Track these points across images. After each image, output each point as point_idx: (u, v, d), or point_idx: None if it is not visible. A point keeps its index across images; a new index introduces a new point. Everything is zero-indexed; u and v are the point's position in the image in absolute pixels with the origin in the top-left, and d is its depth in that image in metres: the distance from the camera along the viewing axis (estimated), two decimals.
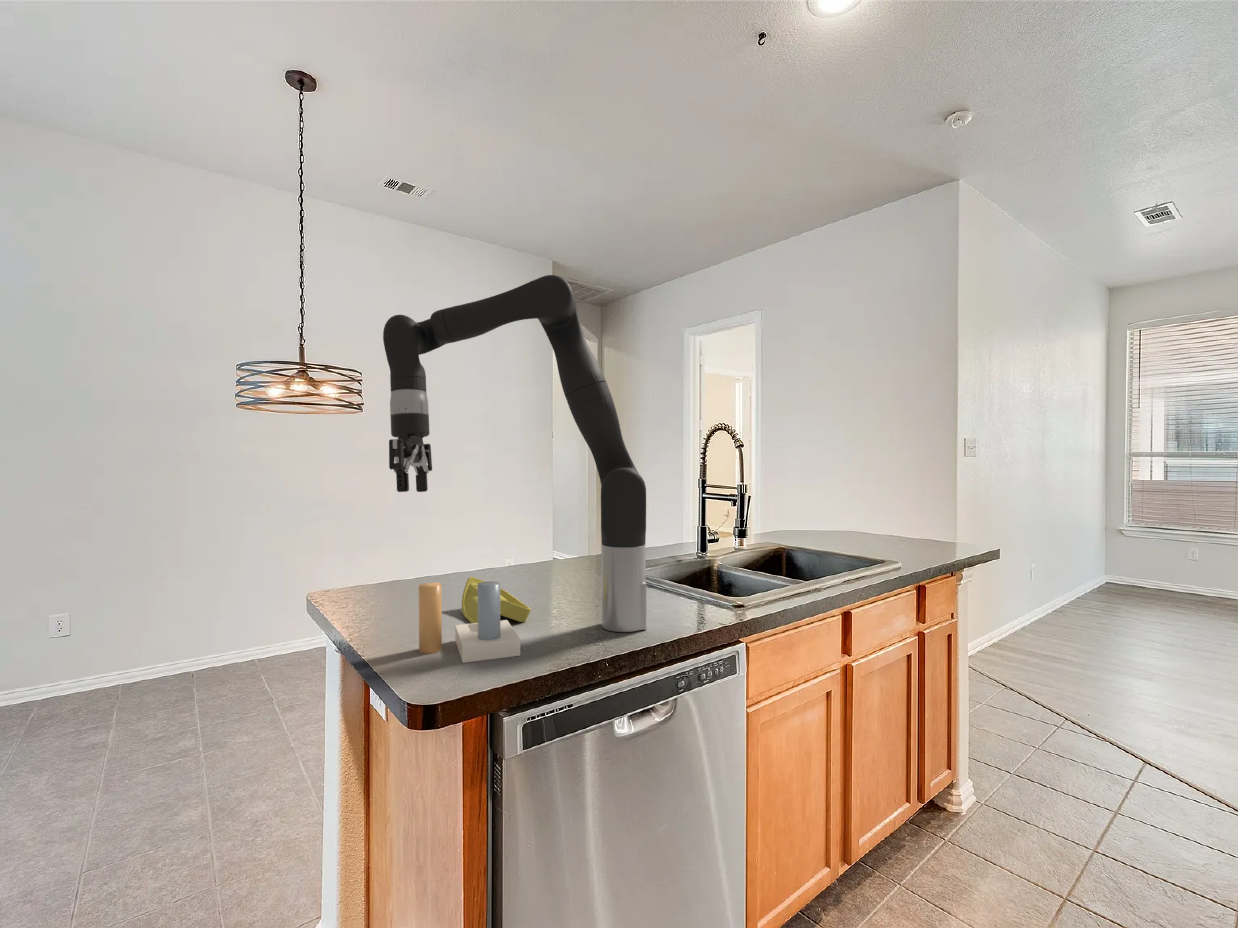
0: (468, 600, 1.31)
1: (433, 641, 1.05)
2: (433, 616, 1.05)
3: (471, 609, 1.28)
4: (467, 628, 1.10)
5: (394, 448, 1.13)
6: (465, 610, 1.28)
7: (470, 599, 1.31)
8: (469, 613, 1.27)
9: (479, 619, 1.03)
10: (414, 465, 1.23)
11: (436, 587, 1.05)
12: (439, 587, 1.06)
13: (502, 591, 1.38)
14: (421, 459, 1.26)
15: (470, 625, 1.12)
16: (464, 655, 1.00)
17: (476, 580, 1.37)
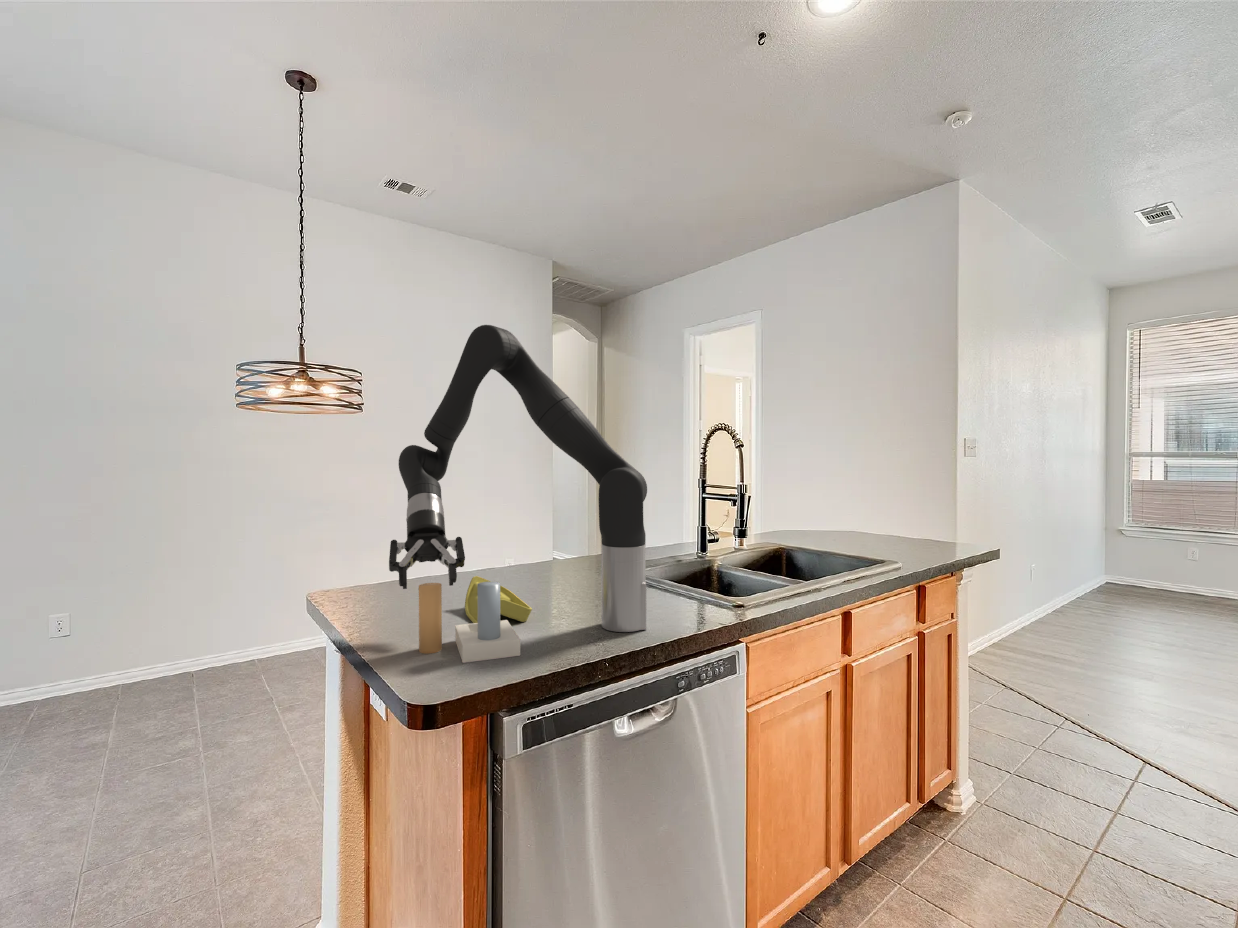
0: (471, 599, 1.32)
1: (433, 641, 1.05)
2: (433, 616, 1.05)
3: (473, 608, 1.28)
4: (467, 628, 1.10)
5: None
6: (468, 609, 1.29)
7: (473, 598, 1.31)
8: (471, 612, 1.28)
9: (479, 619, 1.03)
10: (443, 562, 1.17)
11: (436, 587, 1.05)
12: (439, 587, 1.06)
13: (506, 590, 1.38)
14: (457, 555, 1.18)
15: (470, 625, 1.12)
16: (464, 655, 1.00)
17: (480, 579, 1.38)
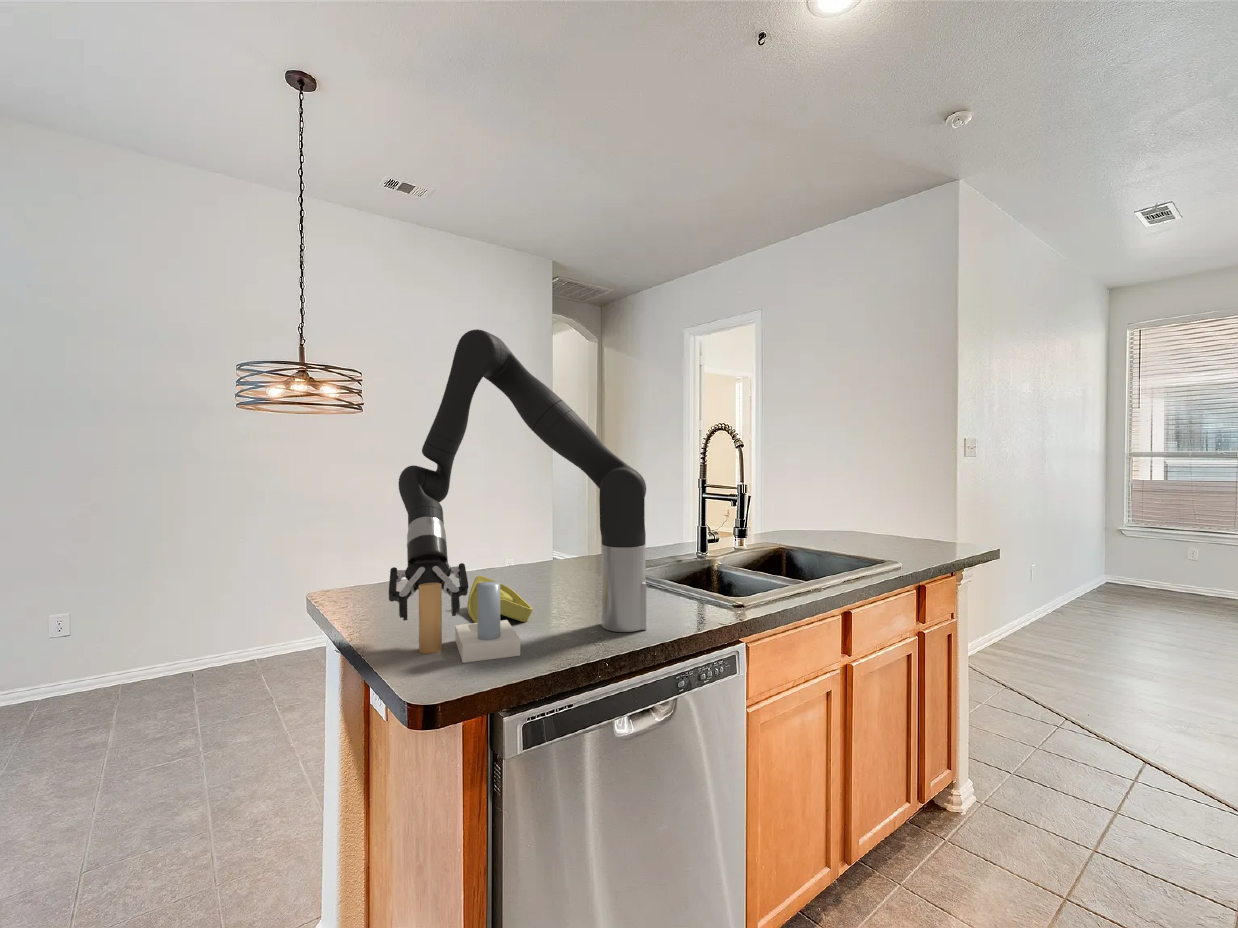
0: (474, 598, 1.32)
1: (433, 641, 1.05)
2: (433, 616, 1.05)
3: (475, 607, 1.29)
4: (467, 628, 1.10)
5: None
6: (470, 608, 1.30)
7: (476, 597, 1.32)
8: (473, 611, 1.28)
9: (479, 619, 1.03)
10: (445, 590, 1.11)
11: (436, 587, 1.05)
12: (439, 587, 1.06)
13: (509, 590, 1.39)
14: (460, 582, 1.13)
15: (470, 625, 1.12)
16: (464, 655, 1.00)
17: (484, 579, 1.39)
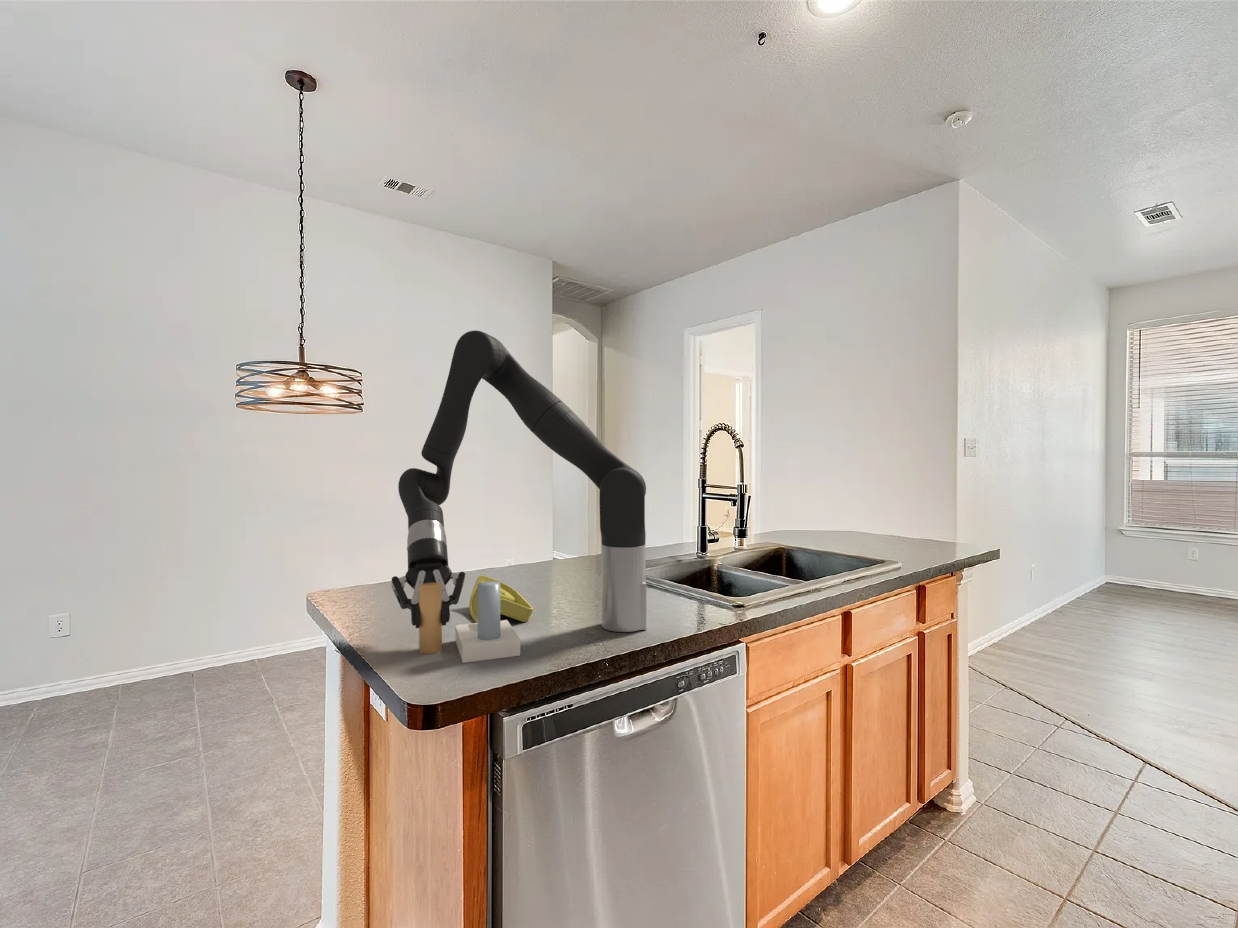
0: (476, 598, 1.33)
1: (433, 641, 1.05)
2: (433, 616, 1.05)
3: (477, 607, 1.29)
4: (467, 628, 1.10)
5: (395, 589, 1.08)
6: (472, 608, 1.30)
7: None
8: (475, 611, 1.29)
9: (479, 619, 1.03)
10: None
11: (436, 587, 1.05)
12: (439, 587, 1.06)
13: (512, 590, 1.39)
14: None
15: (470, 625, 1.12)
16: (464, 655, 1.00)
17: (486, 578, 1.39)
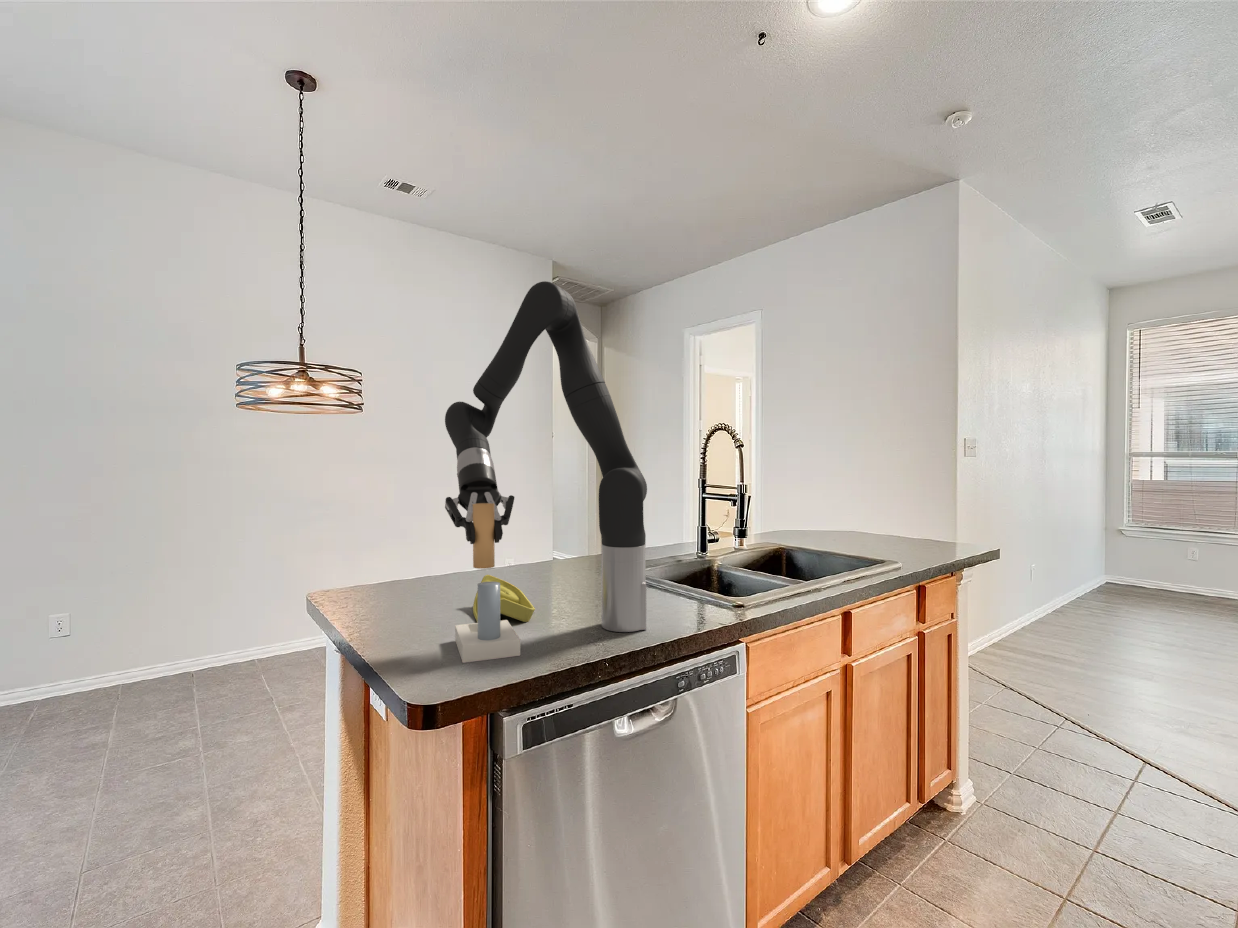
0: None
1: (487, 557, 1.09)
2: (487, 533, 1.09)
3: None
4: (467, 628, 1.10)
5: (448, 509, 1.12)
6: (475, 607, 1.31)
7: None
8: None
9: (479, 619, 1.03)
10: None
11: (490, 505, 1.09)
12: (492, 505, 1.10)
13: (517, 590, 1.39)
14: None
15: (470, 625, 1.12)
16: (464, 655, 1.00)
17: (492, 578, 1.40)
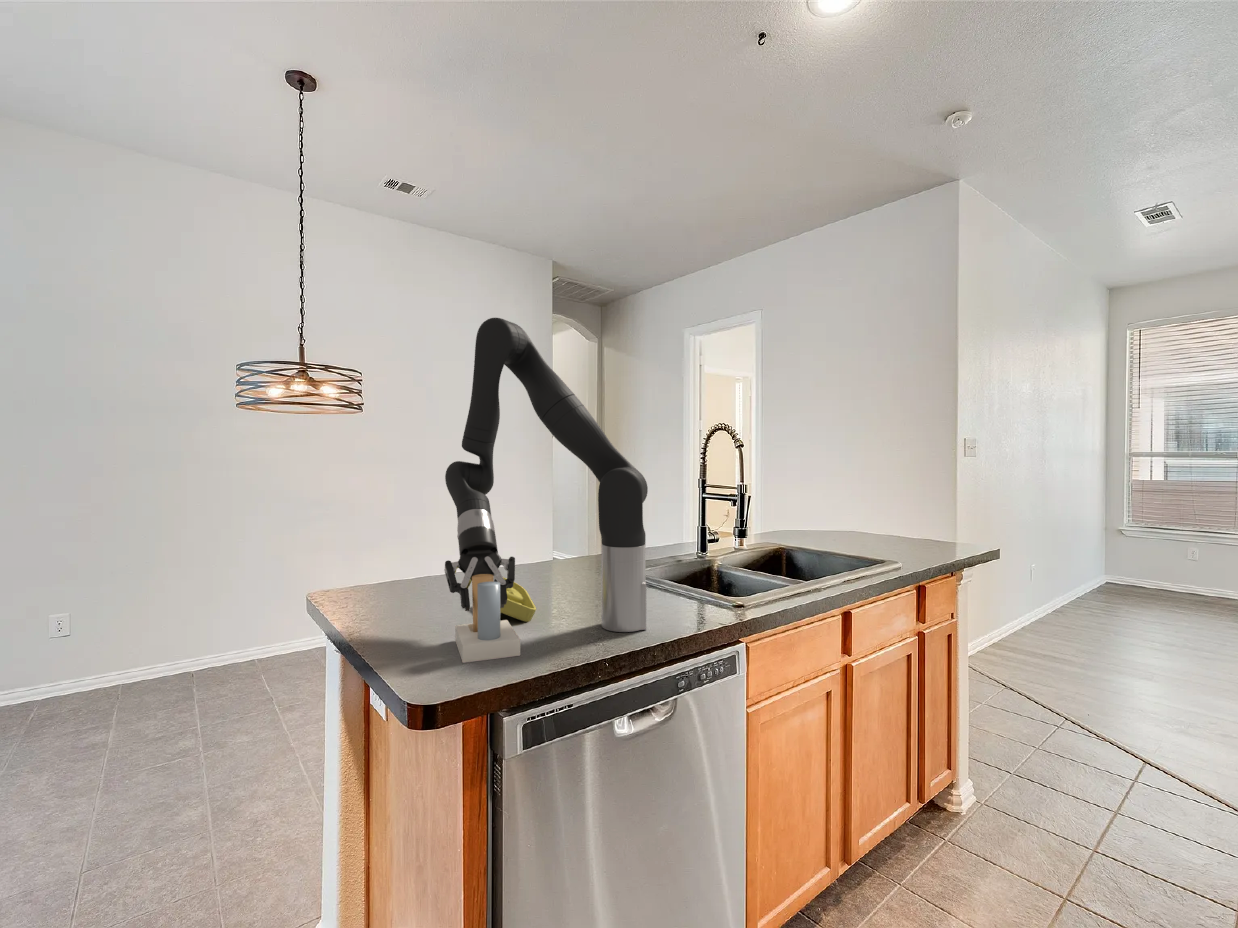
0: None
1: None
2: None
3: None
4: (467, 628, 1.10)
5: (446, 572, 1.12)
6: None
7: None
8: None
9: (479, 619, 1.03)
10: None
11: (489, 578, 1.09)
12: (491, 578, 1.10)
13: (522, 589, 1.40)
14: (507, 575, 1.16)
15: (470, 625, 1.12)
16: (464, 655, 1.00)
17: None
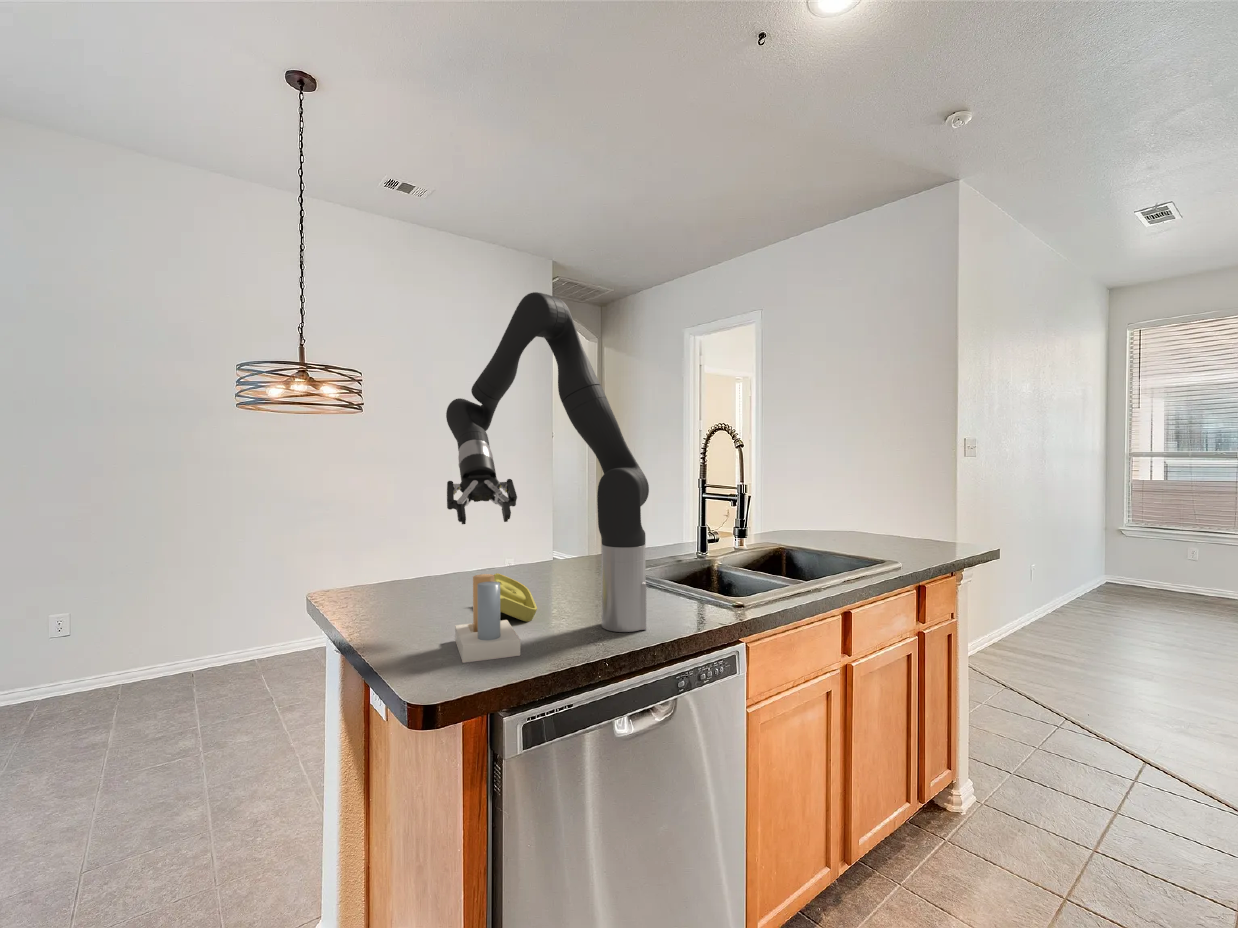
0: None
1: None
2: None
3: None
4: (467, 628, 1.10)
5: None
6: None
7: None
8: None
9: (479, 619, 1.03)
10: (496, 502, 1.24)
11: (490, 578, 1.10)
12: (493, 578, 1.10)
13: (525, 589, 1.40)
14: (508, 495, 1.25)
15: (470, 625, 1.12)
16: (464, 655, 1.00)
17: (501, 577, 1.41)
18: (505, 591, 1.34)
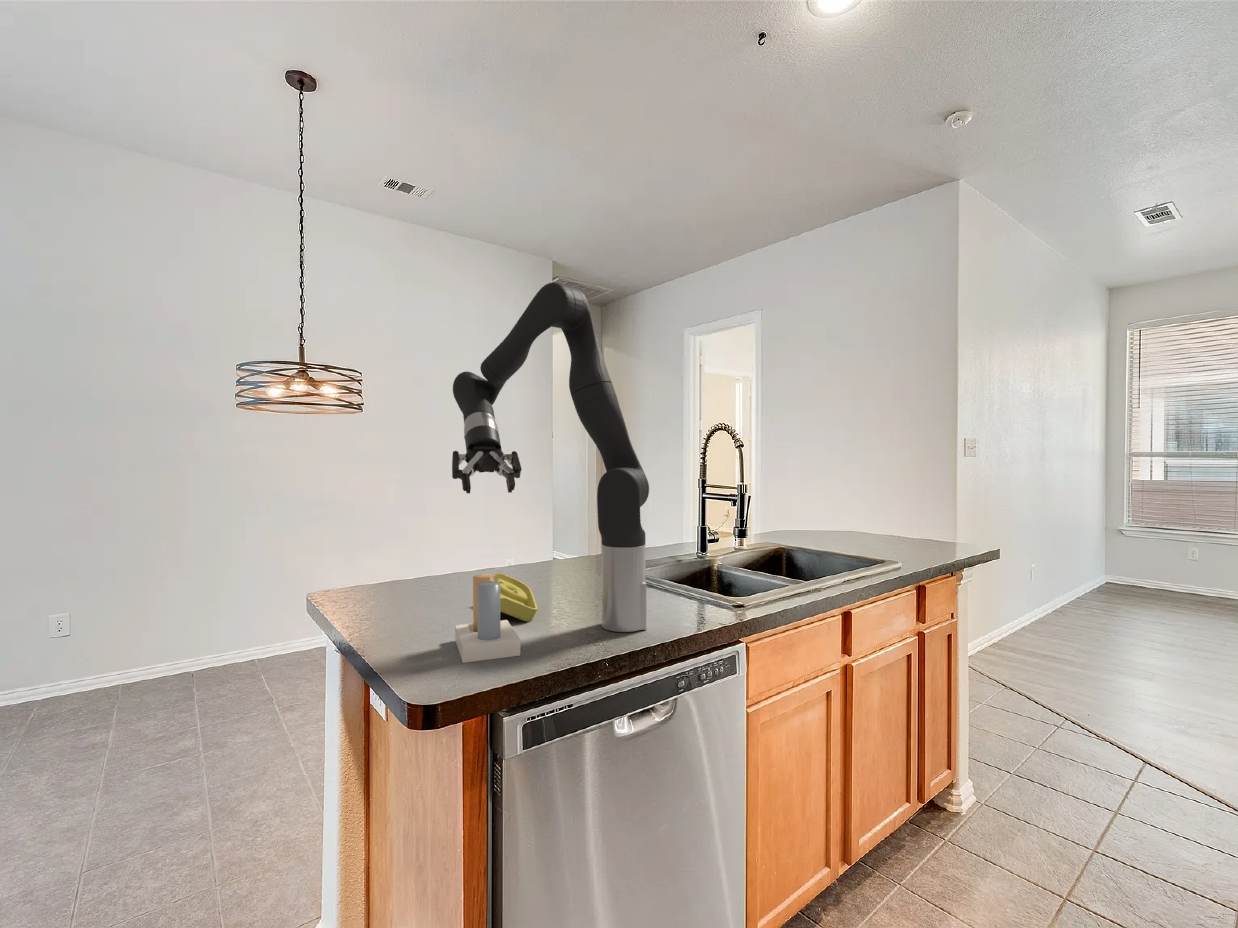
0: None
1: None
2: None
3: None
4: (467, 628, 1.10)
5: (453, 461, 1.22)
6: None
7: None
8: None
9: (479, 619, 1.03)
10: (501, 473, 1.25)
11: (490, 578, 1.10)
12: (492, 578, 1.10)
13: (527, 589, 1.40)
14: (513, 467, 1.26)
15: (470, 625, 1.12)
16: (464, 655, 1.00)
17: (503, 576, 1.41)
18: (507, 591, 1.34)
